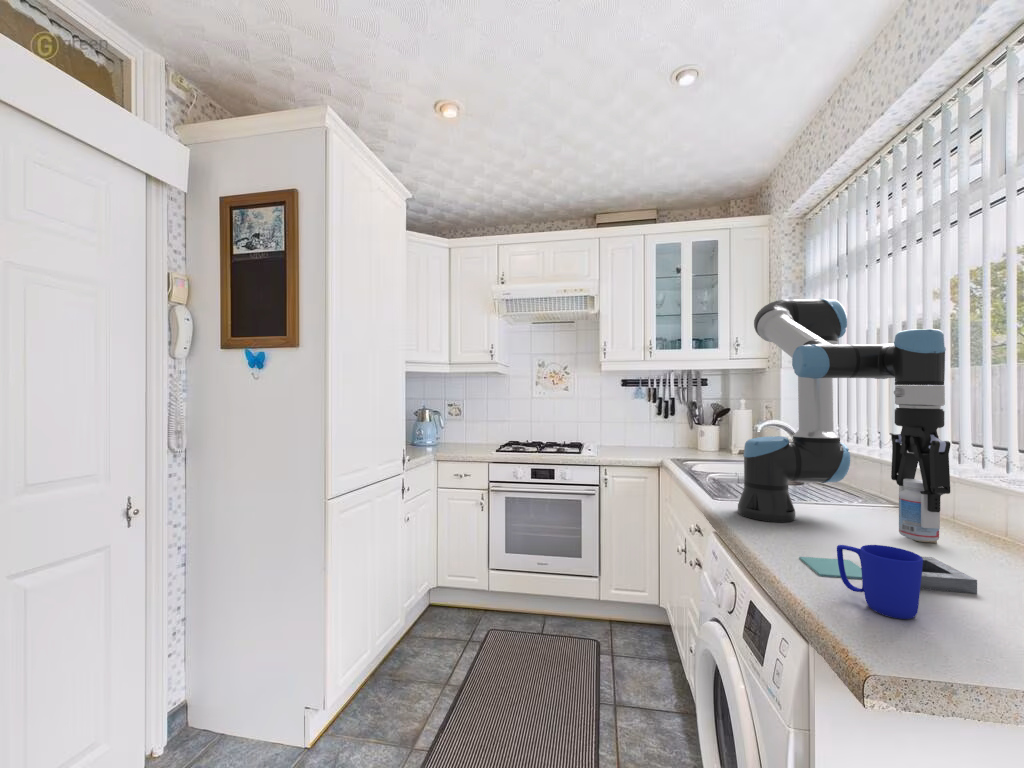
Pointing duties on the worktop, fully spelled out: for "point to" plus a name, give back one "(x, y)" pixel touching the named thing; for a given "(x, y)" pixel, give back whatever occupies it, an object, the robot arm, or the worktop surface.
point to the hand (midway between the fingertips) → (918, 522)
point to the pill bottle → (913, 513)
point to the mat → (832, 567)
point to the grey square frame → (945, 578)
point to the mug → (887, 579)
